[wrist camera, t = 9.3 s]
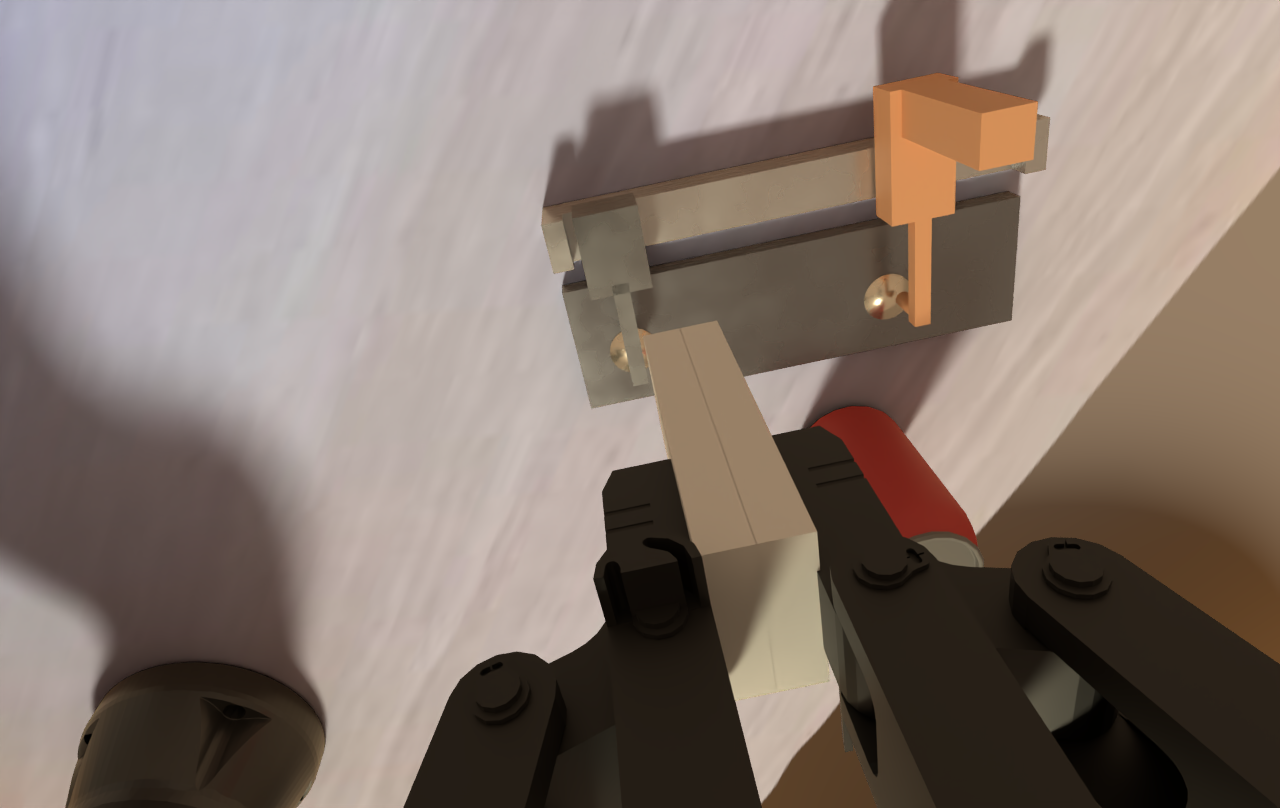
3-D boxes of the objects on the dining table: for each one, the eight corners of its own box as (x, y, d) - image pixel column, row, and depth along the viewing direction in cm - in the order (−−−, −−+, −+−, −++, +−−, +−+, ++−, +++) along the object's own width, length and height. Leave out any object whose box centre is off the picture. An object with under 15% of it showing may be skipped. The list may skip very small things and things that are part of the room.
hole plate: (590, 398, 43) (591, 408, 42) (562, 285, 39) (562, 293, 38) (1000, 312, 43) (1012, 320, 42) (1007, 191, 39) (1020, 196, 38)
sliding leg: (875, 312, 40) (958, 397, 32) (869, 85, 34) (967, 116, 26) (930, 301, 40) (1027, 383, 32) (933, 71, 34) (1051, 98, 26)
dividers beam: (581, 360, 42) (583, 396, 38) (541, 201, 37) (539, 225, 33) (1002, 271, 41) (1047, 299, 38) (1013, 101, 37) (1065, 114, 33)
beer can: (814, 392, 44) (893, 517, 34) (914, 410, 45) (1019, 536, 35) (779, 482, 47) (841, 623, 37) (873, 497, 48) (959, 636, 38)
